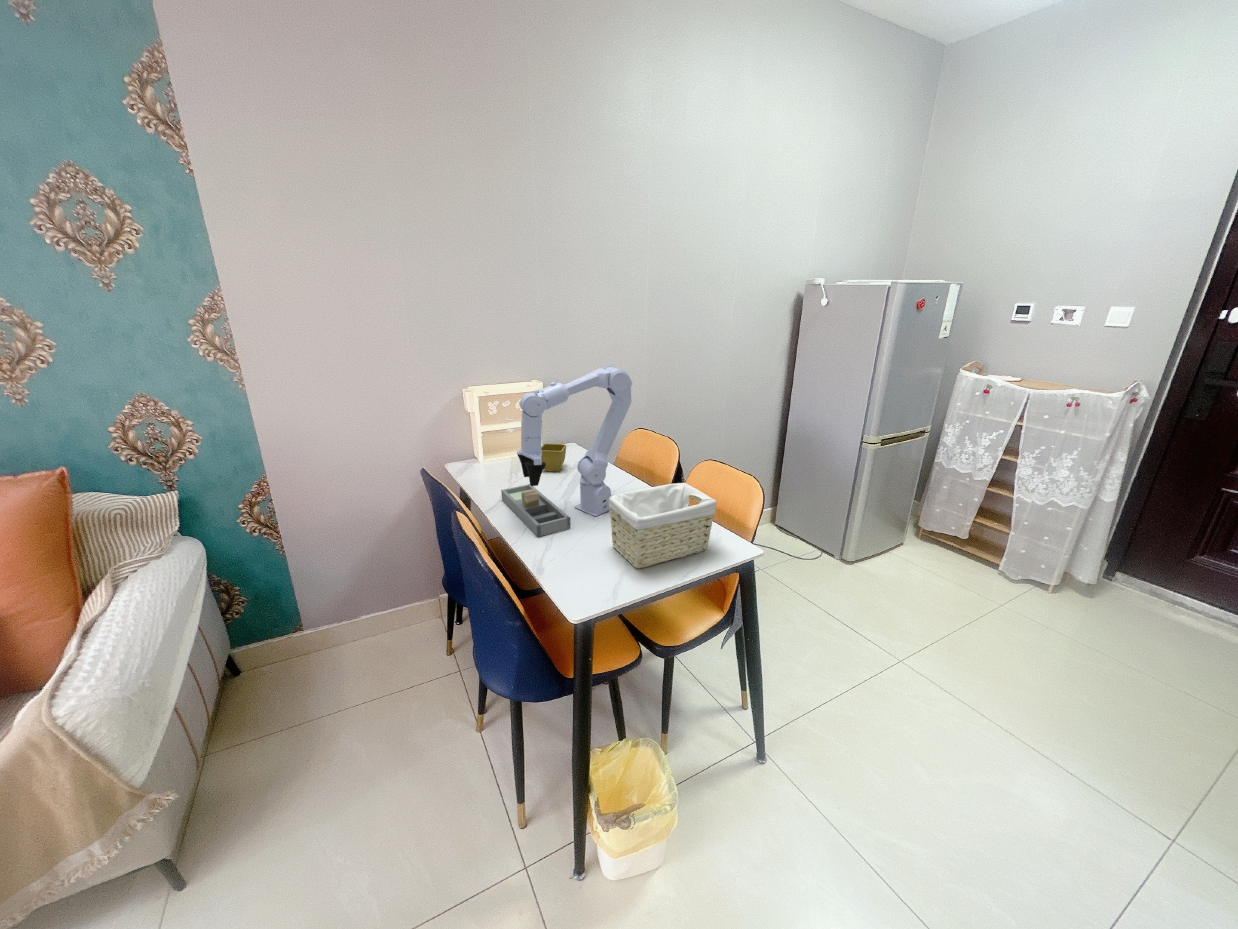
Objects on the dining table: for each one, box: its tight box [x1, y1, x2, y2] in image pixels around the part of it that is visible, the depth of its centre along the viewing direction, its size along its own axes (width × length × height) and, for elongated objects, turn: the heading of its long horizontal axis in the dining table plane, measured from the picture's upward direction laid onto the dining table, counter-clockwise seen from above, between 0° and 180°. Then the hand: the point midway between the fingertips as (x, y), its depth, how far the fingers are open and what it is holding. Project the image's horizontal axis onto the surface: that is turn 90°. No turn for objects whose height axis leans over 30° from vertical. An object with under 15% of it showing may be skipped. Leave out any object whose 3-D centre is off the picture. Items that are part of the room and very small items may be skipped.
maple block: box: [521, 489, 539, 508], centre depth 149 cm, size 4×4×4 cm
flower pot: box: [541, 443, 567, 473], centre depth 183 cm, size 9×9×9 cm
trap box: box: [500, 483, 571, 538], centre depth 147 cm, size 30×10×4 cm, turn 32°
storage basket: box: [609, 482, 717, 569], centre depth 125 cm, size 24×16×15 cm
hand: (530, 480), depth 141 cm, fingers open, 7 cm apart
